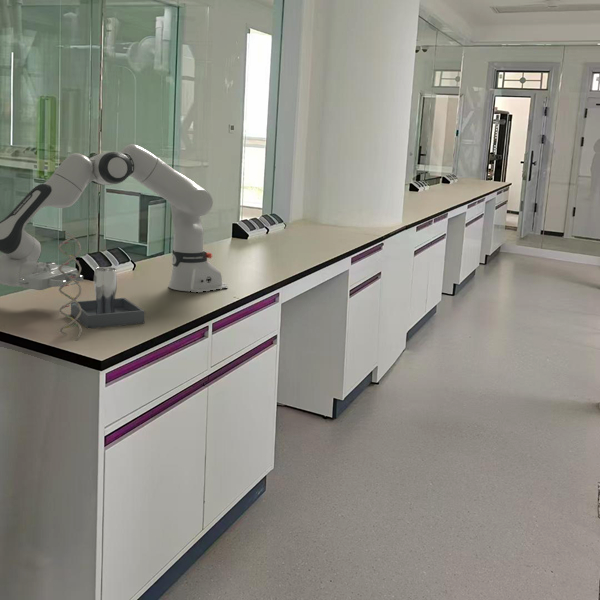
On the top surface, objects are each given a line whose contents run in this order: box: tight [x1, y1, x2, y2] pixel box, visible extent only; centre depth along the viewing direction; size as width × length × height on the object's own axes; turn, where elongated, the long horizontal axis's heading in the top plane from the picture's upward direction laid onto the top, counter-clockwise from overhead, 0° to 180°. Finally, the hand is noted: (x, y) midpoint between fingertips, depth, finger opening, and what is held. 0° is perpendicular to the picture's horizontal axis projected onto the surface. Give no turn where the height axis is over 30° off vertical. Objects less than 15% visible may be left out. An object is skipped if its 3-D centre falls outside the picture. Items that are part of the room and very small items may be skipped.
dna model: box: [58, 231, 83, 341], centre depth 204 cm, size 7×6×30 cm
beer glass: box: [93, 266, 118, 314], centre depth 226 cm, size 7×7×15 cm
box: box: [70, 297, 145, 329], centre depth 228 cm, size 18×18×4 cm
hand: (73, 281), depth 230 cm, fingers open, 8 cm apart
